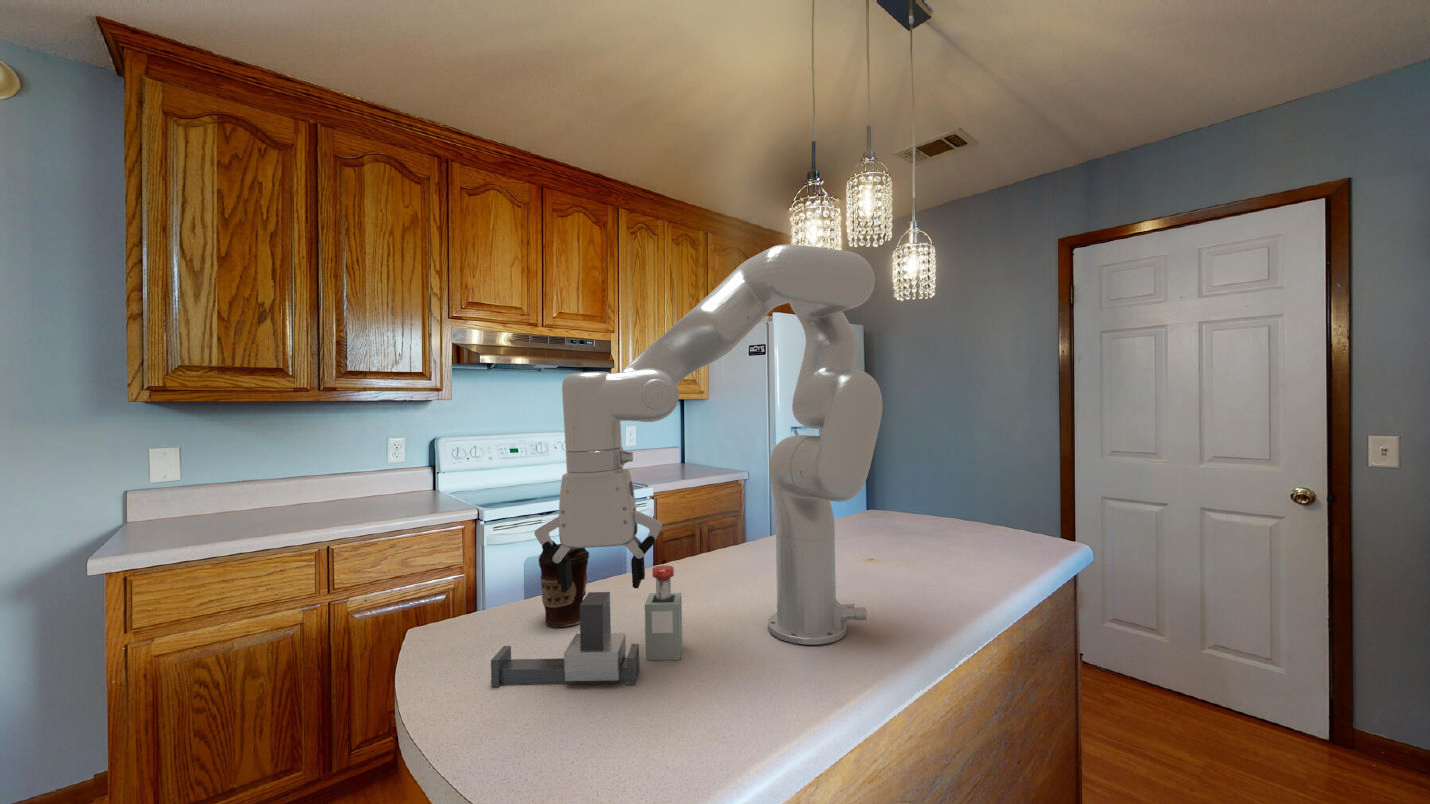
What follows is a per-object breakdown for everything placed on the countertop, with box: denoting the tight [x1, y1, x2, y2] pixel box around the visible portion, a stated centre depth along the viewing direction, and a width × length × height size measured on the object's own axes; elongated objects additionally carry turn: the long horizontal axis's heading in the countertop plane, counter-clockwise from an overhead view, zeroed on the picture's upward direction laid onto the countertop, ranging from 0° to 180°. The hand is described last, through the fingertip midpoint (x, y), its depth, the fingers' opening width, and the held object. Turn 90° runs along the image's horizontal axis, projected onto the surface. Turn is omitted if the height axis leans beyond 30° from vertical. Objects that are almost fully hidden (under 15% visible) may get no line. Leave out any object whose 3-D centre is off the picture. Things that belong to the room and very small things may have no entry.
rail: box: [490, 643, 640, 689], centre depth 75 cm, size 19×4×4 cm, turn 90°
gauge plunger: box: [651, 565, 675, 603], centre depth 82 cm, size 3×3×7 cm
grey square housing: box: [644, 592, 683, 661], centre depth 82 cm, size 5×5×8 cm
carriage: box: [563, 591, 627, 681], centre depth 75 cm, size 7×6×10 cm
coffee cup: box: [538, 543, 590, 628], centre depth 95 cm, size 9×8×13 cm
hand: (602, 586), depth 75 cm, fingers open, 9 cm apart
